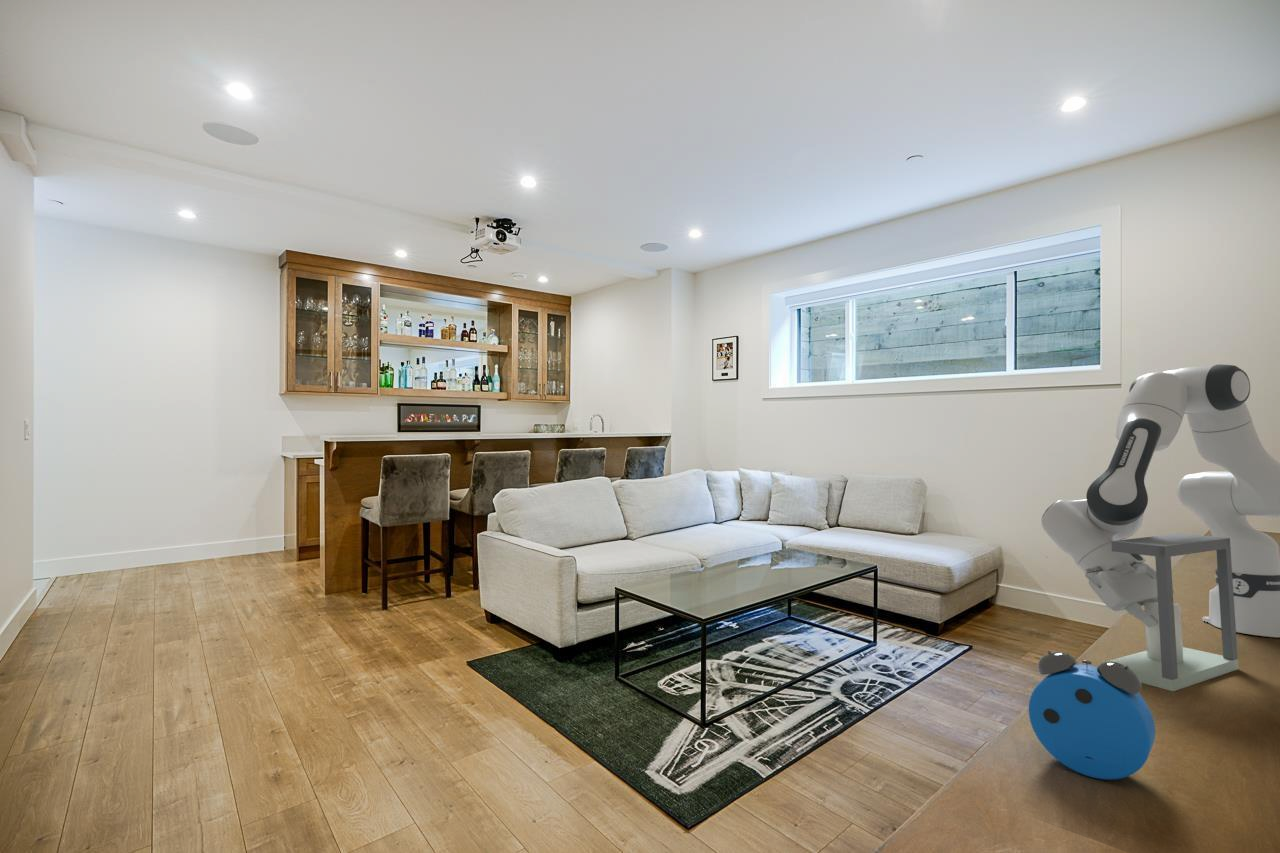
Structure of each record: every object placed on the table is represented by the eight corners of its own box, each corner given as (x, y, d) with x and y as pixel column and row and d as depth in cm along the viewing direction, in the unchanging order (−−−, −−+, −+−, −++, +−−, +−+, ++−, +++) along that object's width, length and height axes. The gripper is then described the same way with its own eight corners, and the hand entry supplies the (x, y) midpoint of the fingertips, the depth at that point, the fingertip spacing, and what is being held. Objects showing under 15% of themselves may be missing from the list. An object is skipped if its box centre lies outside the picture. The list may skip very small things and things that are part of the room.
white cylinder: (1155, 653, 123) (1152, 599, 124) (1189, 660, 118) (1185, 604, 119) (1141, 656, 121) (1138, 601, 121) (1175, 665, 116) (1171, 607, 116)
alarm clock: (1158, 780, 78) (1152, 663, 79) (1152, 799, 73) (1145, 674, 74) (1040, 746, 87) (1036, 642, 88) (1029, 761, 83) (1024, 651, 84)
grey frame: (1170, 653, 129) (1163, 532, 131) (1238, 669, 119) (1229, 538, 121) (1103, 672, 117) (1096, 539, 119) (1173, 691, 108) (1164, 546, 109)
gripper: (1092, 560, 122) (1152, 620, 113) (1144, 553, 131) (1204, 607, 122) (1069, 578, 126) (1126, 637, 116) (1121, 570, 135) (1178, 624, 125)
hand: (1166, 622), depth 119 cm, fingers open, 8 cm apart
